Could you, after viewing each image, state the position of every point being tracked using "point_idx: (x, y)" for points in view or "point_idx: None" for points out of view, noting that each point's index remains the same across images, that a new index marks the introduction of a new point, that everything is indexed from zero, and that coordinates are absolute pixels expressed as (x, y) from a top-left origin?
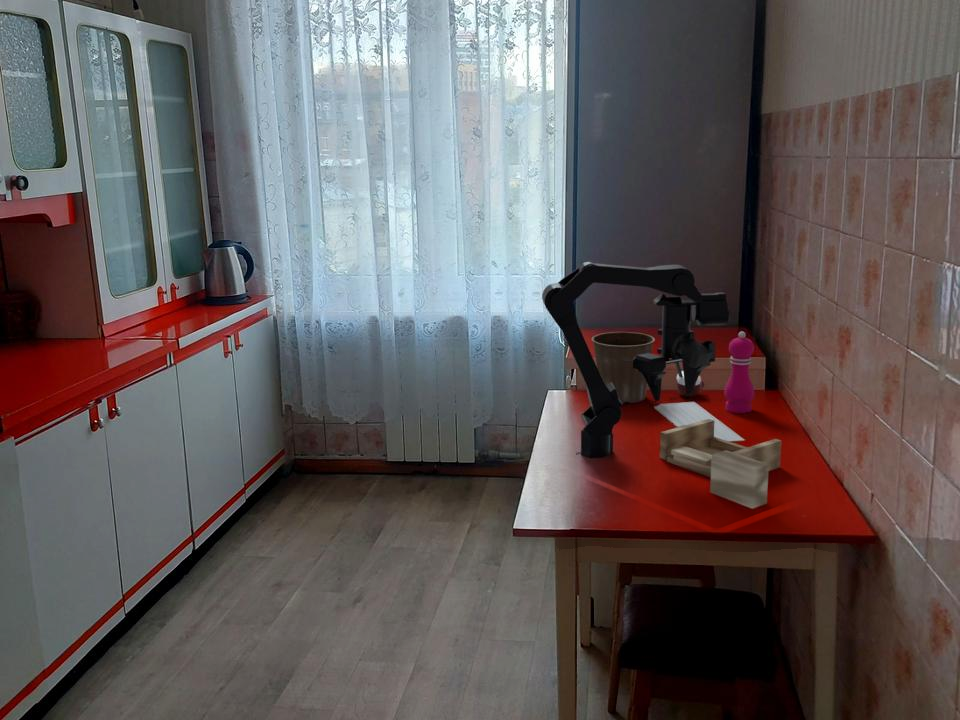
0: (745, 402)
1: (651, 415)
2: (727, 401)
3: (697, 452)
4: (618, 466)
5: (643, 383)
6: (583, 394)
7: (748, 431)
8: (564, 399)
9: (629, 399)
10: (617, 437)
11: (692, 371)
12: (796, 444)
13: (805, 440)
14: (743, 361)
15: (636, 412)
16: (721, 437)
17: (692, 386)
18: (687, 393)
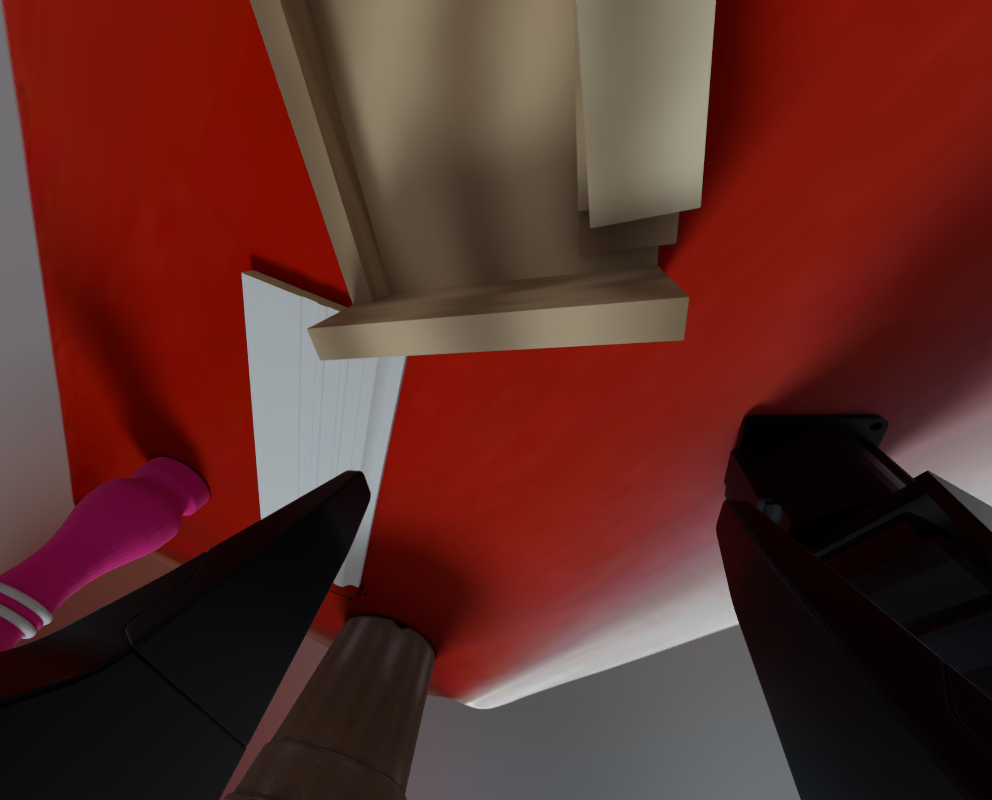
0: (142, 478)
1: (392, 563)
2: (188, 512)
3: (617, 63)
4: (843, 342)
5: (339, 658)
6: (447, 682)
7: (203, 356)
8: (498, 690)
9: (392, 630)
10: (578, 524)
11: (162, 687)
12: (74, 155)
13: (36, 177)
14: None
15: (412, 589)
16: (307, 343)
17: (302, 511)
18: (367, 492)
